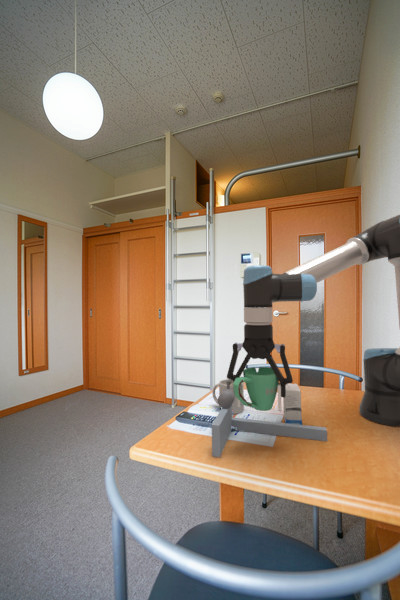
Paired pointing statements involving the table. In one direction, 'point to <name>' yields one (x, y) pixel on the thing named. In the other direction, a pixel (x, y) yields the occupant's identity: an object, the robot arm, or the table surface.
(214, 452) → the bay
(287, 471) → the table surface
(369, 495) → the table surface
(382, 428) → the table surface
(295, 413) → the ink box
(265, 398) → the mug
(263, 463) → the table surface
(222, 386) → the mug
